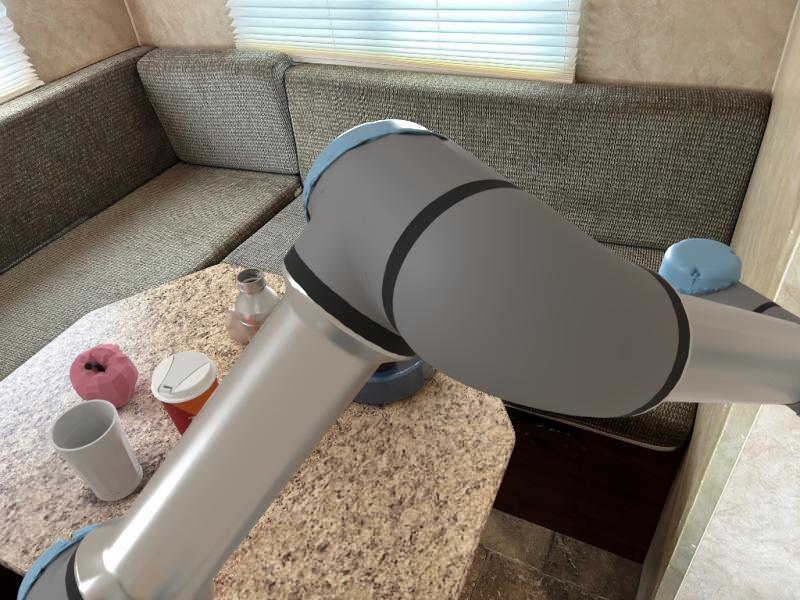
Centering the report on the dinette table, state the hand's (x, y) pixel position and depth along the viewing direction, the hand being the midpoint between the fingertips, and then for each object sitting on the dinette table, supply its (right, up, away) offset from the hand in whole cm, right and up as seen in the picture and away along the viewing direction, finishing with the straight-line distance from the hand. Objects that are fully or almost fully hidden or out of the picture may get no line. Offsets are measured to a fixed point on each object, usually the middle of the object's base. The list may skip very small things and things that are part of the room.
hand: (429, 306), depth 83 cm
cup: (-42, -24, -1) cm, 49 cm away
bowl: (-7, -9, +12) cm, 17 cm away
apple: (-48, -15, +11) cm, 51 cm away
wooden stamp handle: (-7, -9, +12) cm, 16 cm away
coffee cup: (-30, -20, +3) cm, 36 cm away
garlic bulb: (-29, -6, +20) cm, 36 cm away
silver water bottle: (-23, -11, +12) cm, 28 cm away
